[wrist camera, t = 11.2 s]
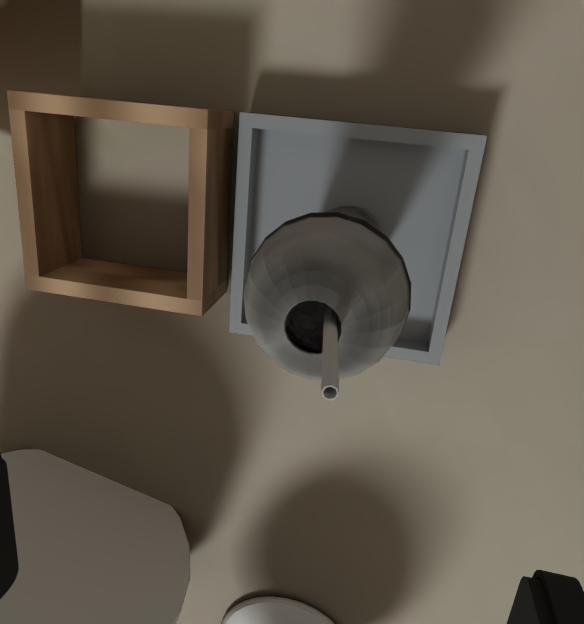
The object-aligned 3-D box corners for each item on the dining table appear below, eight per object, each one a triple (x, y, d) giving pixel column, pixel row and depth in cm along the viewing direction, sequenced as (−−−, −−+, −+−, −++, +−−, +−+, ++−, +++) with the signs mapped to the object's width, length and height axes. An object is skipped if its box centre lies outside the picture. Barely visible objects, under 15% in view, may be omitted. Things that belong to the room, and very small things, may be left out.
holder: (234, 111, 33) (207, 109, 28) (226, 292, 37) (201, 316, 33) (58, 94, 35) (7, 90, 30) (70, 269, 39) (26, 289, 34)
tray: (480, 134, 31) (487, 135, 29) (436, 350, 36) (439, 365, 34) (249, 112, 33) (239, 112, 31) (238, 320, 38) (228, 332, 36)
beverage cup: (299, 175, 33) (171, 242, 14) (417, 191, 32) (444, 285, 13) (287, 286, 35) (165, 464, 17) (396, 303, 34) (394, 514, 16)
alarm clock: (-16, 492, 49) (-266, 717, 30) (-7, 429, 46) (-276, 635, 27) (195, 584, 48) (69, 874, 29) (218, 525, 45) (94, 806, 26)
